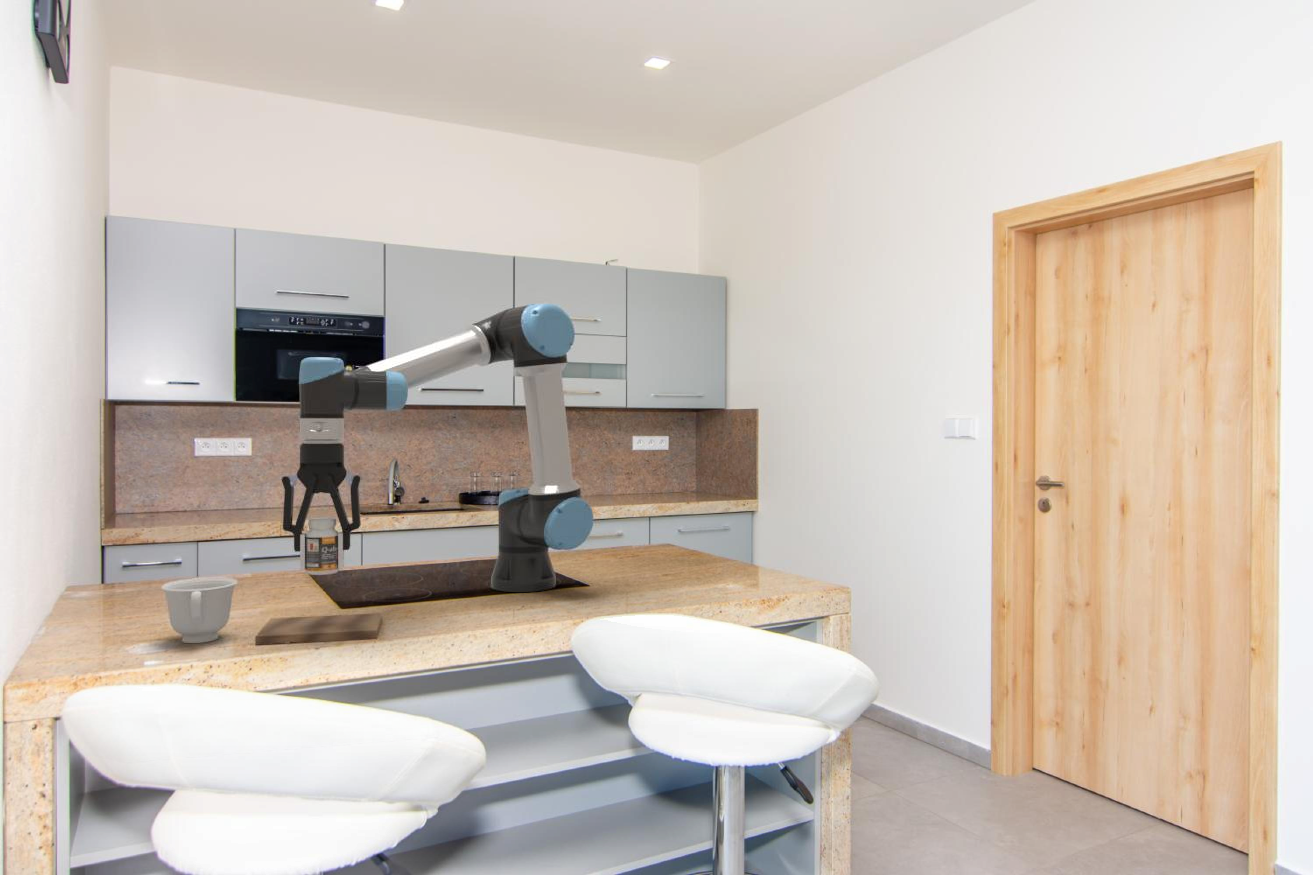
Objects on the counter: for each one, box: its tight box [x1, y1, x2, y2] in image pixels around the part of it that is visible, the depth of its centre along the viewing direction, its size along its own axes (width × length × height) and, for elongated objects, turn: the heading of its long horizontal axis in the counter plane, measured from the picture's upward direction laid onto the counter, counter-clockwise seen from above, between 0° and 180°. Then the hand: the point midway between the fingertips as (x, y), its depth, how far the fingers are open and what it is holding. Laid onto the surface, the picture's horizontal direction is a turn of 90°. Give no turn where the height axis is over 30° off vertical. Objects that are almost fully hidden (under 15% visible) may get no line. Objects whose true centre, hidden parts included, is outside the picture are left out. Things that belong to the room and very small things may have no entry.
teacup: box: [160, 576, 239, 644], centre depth 151 cm, size 12×15×10 cm
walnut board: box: [254, 612, 383, 646], centre depth 158 cm, size 20×14×2 cm
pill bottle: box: [305, 517, 340, 576], centre depth 157 cm, size 6×6×10 cm
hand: (322, 568), depth 157 cm, fingers closed on pill bottle, 6 cm apart
